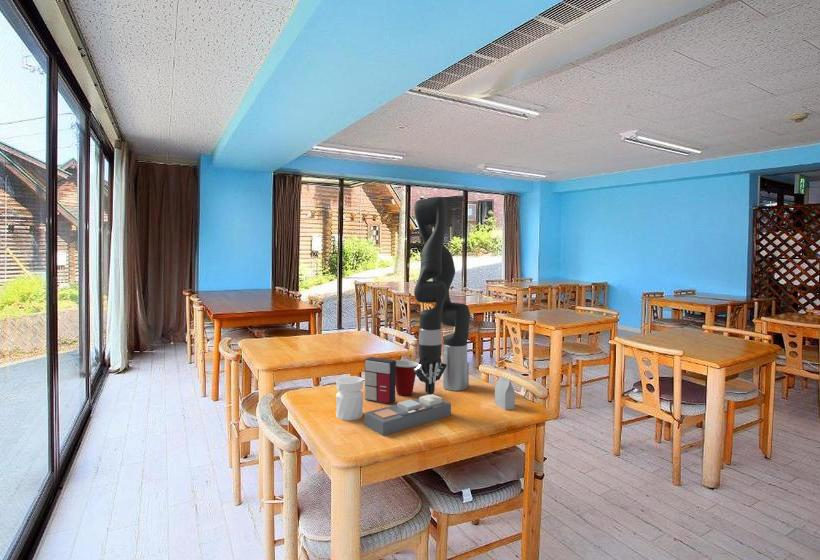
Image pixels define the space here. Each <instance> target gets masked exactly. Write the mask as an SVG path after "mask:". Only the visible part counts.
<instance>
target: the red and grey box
mask: <svg viewBox="0 0 820 560" xmlns="http://www.w3.org/2000/svg"><path fill="white" fill-rule="evenodd" d="M396 361H397V360H395V359H390V358H381V357H375V356H370V357H369V356H368V357H367V358H365V359H364V397H365V400H367V401H371V402H372V401H373V402H378V403H383V404H388V405H391V404H393V403H395V402H396V386H395V372H396Z"/></svg>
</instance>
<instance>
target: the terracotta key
mask: <svg viewBox="0 0 820 560" xmlns="http://www.w3.org/2000/svg"><path fill="white" fill-rule="evenodd" d="M374 415H376V416H378V417H380V418H382V419H386V418H390V417H393V416H397V415H398V413H396V412H394V411H392V410H390V409H385V410H381V411H377V412H374Z"/></svg>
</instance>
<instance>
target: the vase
mask: <svg viewBox="0 0 820 560" xmlns="http://www.w3.org/2000/svg"><path fill="white" fill-rule="evenodd" d="M335 383H336V384H335V389H336V390H337V391H338V392H337V393H336V394H335V396H336V398H335V399H336V402H335V403H336V404H335V415H336V419H338V420H340V419H341V420H340V421H347V422H348V421H349V422H350V421H354V420H359V419H361V418H362V417H363V414H364V411H363V408H364V394H363V393H364V392H362V391H361V390H362V389H363V388H364V379H363V378H362V377H360V376H356V375H354V376H353V375H347V376H339V377H338V378H336V381H335Z"/></svg>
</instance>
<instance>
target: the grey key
mask: <svg viewBox="0 0 820 560" xmlns="http://www.w3.org/2000/svg"><path fill="white" fill-rule="evenodd" d="M413 400H414V399H407V400H403V401H399V402H397V403H396V404H397V408H399V409H401V410H403V411H405V412H408V411H412V410H416V409H419V408H421V404H420V403H418V402H416V401H413Z"/></svg>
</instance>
